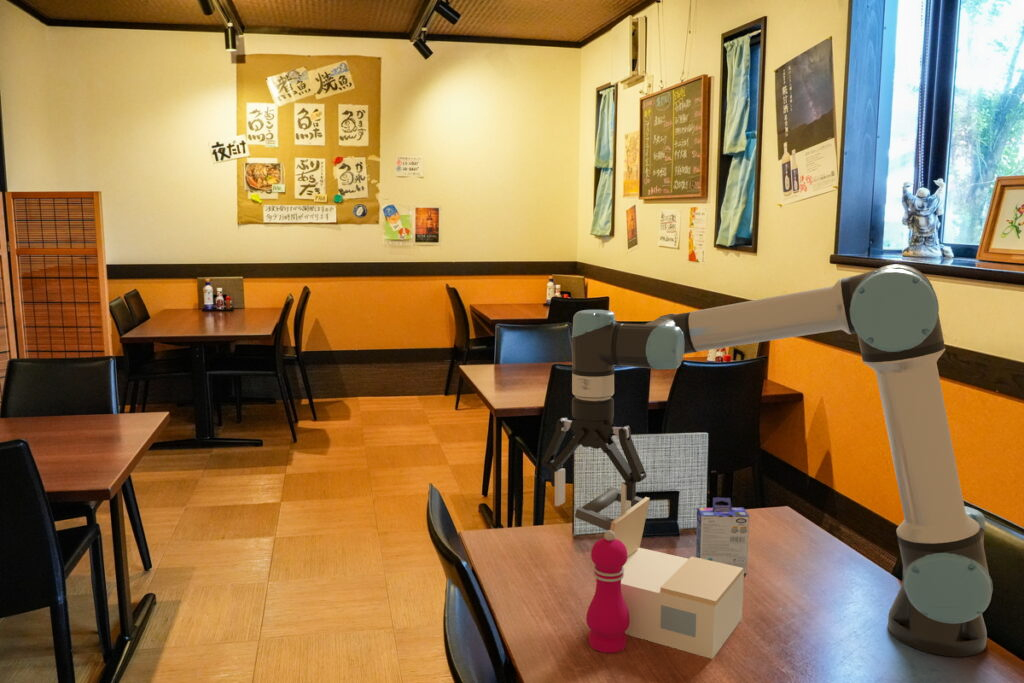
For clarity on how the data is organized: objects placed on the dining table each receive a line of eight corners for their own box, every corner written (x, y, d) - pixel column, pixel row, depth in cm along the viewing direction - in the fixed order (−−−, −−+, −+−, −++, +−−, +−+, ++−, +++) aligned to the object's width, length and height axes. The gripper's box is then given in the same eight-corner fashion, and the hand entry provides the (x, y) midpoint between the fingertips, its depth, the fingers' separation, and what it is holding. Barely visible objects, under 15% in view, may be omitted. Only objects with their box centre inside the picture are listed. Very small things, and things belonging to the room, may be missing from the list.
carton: (741, 618, 151) (744, 566, 149) (712, 659, 137) (714, 602, 136) (637, 592, 161) (639, 543, 160) (600, 627, 148) (601, 574, 146)
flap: (650, 498, 157) (612, 484, 161) (615, 523, 144) (575, 507, 148) (639, 546, 159) (603, 531, 163) (605, 575, 147) (566, 558, 150)
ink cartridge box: (741, 563, 175) (744, 495, 172) (748, 574, 169) (751, 505, 167) (693, 562, 175) (696, 495, 173) (699, 574, 169) (701, 504, 167)
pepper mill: (601, 629, 147) (603, 519, 144) (637, 642, 143) (640, 529, 140) (577, 645, 142) (579, 531, 139) (614, 659, 137) (616, 542, 134)
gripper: (522, 392, 155) (523, 504, 158) (649, 408, 142) (647, 529, 145) (543, 385, 161) (543, 493, 165) (666, 399, 148) (663, 516, 152)
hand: (592, 510), depth 155 cm, fingers open, 13 cm apart
